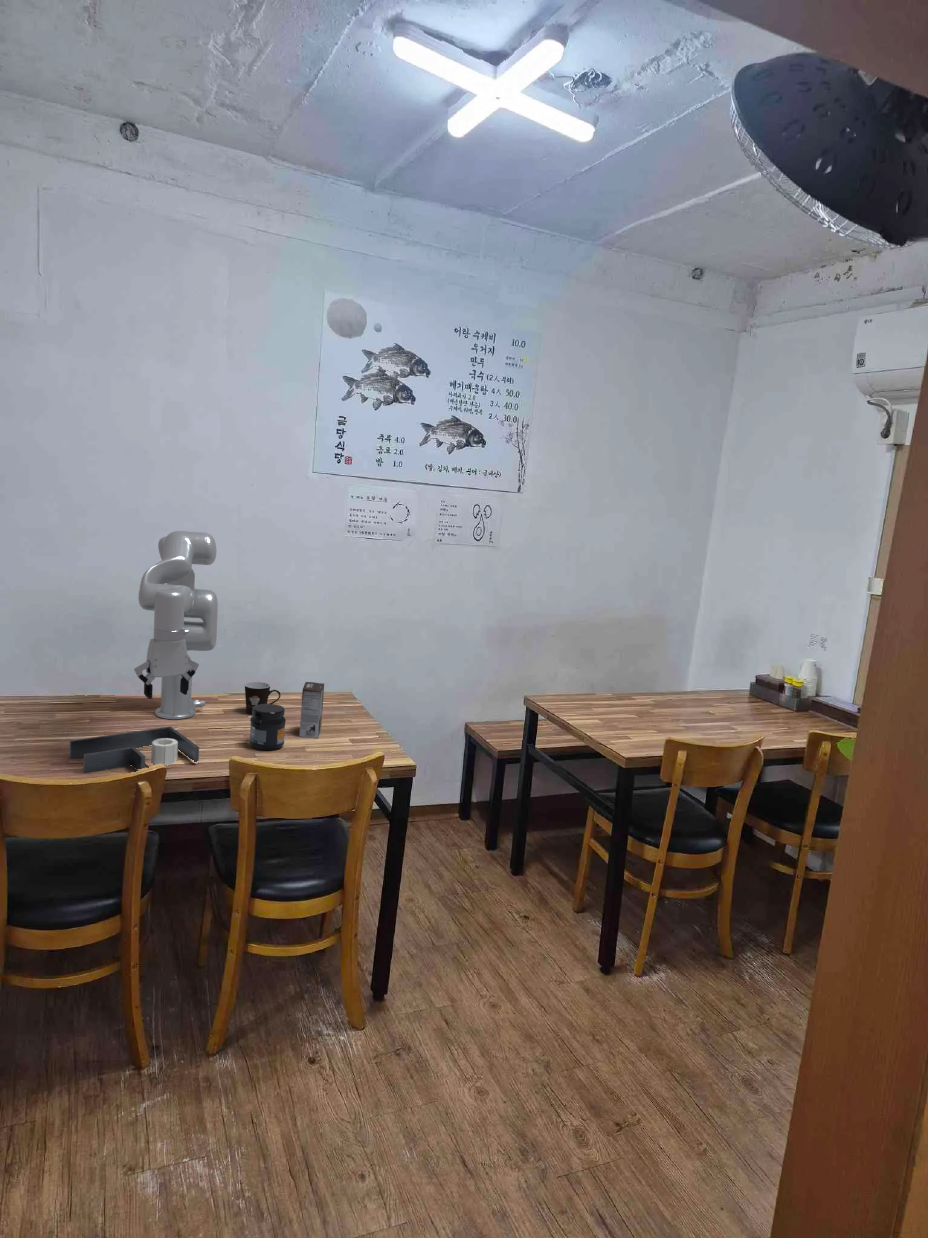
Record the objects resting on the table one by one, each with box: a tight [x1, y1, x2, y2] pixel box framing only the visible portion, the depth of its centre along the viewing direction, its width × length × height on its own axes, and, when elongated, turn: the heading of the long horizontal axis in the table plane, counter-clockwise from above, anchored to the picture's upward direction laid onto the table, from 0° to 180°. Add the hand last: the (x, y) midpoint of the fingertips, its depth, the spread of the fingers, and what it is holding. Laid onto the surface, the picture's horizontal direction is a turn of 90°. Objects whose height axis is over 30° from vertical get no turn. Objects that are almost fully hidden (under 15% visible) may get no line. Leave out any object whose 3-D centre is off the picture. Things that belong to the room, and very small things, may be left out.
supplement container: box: [248, 703, 287, 751], centre depth 236 cm, size 10×10×12 cm
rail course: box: [69, 726, 200, 774], centre depth 214 cm, size 28×20×5 cm
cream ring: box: [150, 738, 178, 766], centre depth 214 cm, size 6×6×6 cm
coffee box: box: [299, 681, 325, 739], centre depth 251 cm, size 9×6×16 cm
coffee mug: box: [244, 681, 281, 716], centre depth 265 cm, size 12×9×10 cm
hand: (166, 695), depth 211 cm, fingers open, 9 cm apart
